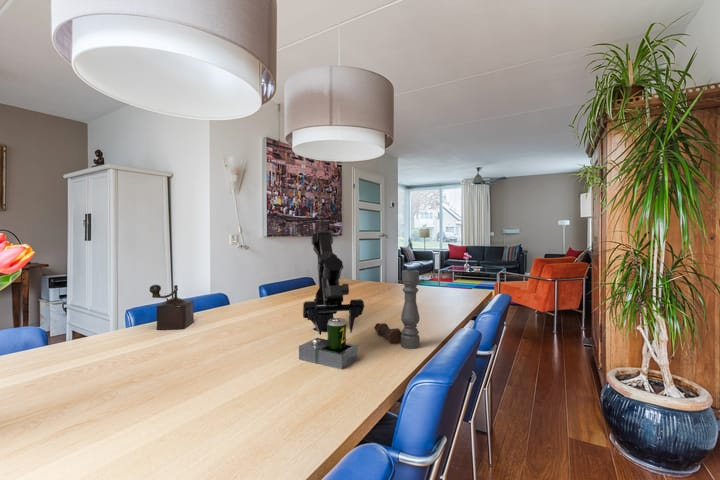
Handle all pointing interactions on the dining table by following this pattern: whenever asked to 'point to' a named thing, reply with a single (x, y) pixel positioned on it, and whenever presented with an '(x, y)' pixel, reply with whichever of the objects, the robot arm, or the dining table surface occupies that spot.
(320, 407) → the dining table surface
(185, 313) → the manual coffee grinder
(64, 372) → the dining table surface
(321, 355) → the jig
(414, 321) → the turned furniture leg
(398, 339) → the bolt
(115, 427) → the dining table surface
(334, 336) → the beer can
